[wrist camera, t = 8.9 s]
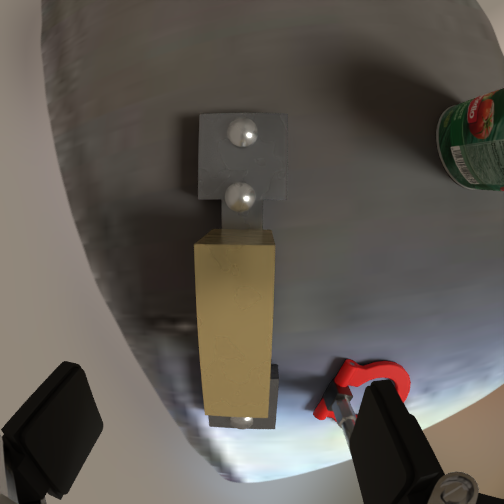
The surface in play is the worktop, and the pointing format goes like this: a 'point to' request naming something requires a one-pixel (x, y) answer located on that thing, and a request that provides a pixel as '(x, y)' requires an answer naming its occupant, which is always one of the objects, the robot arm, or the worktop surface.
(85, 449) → the robot arm
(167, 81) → the worktop surface
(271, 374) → the grey plate with studs
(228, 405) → the tan cork brick
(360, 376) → the tow hook
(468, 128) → the canned tomato
